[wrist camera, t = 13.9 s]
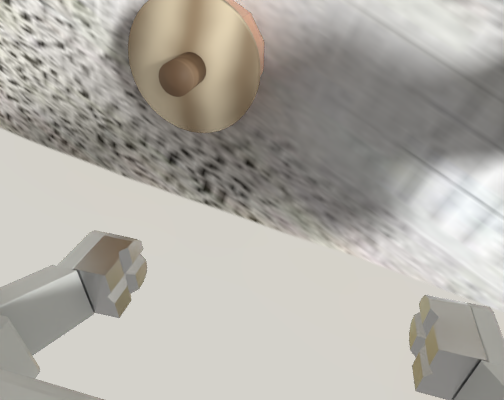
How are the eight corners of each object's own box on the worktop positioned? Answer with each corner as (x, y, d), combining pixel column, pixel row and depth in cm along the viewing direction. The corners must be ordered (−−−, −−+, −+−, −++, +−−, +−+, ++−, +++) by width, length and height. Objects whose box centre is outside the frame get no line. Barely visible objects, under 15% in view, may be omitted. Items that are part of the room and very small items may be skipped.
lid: (262, -11, 31) (247, -6, 27) (259, 135, 39) (247, 156, 35) (120, -15, 34) (88, -11, 30) (145, 122, 42) (122, 140, 38)
